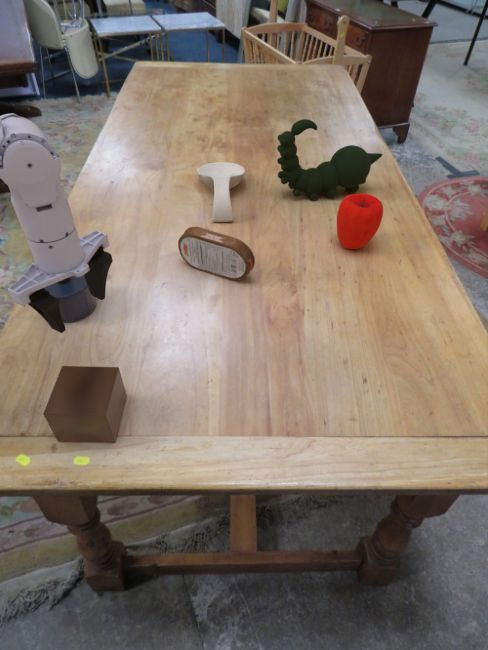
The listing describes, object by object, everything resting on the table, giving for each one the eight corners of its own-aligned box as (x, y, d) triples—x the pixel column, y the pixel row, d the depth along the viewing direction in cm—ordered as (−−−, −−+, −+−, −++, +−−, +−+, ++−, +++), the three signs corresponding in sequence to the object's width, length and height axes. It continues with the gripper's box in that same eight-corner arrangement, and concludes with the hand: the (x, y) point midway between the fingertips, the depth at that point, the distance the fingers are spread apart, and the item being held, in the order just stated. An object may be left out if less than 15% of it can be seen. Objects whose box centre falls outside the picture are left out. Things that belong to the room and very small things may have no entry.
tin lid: (26, 299, 69) (18, 281, 66) (45, 264, 75) (39, 247, 73) (83, 300, 69) (78, 282, 66) (97, 265, 75) (93, 248, 73)
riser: (57, 441, 57) (42, 414, 53) (74, 394, 63) (61, 365, 58) (115, 442, 57) (105, 415, 53) (127, 395, 63) (118, 366, 58)
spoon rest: (197, 174, 112) (196, 146, 107) (243, 173, 113) (244, 146, 108) (197, 223, 95) (195, 193, 90) (250, 223, 96) (251, 193, 91)
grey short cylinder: (39, 322, 73) (28, 298, 69) (55, 289, 79) (46, 265, 75) (89, 323, 73) (82, 299, 69) (101, 290, 79) (95, 267, 75)
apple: (358, 263, 86) (371, 215, 79) (322, 245, 91) (331, 198, 83) (381, 245, 91) (395, 198, 84) (346, 229, 95) (356, 182, 88)
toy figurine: (284, 213, 103) (384, 196, 105) (284, 132, 89) (400, 114, 91) (274, 193, 109) (369, 178, 111) (273, 115, 95) (381, 99, 98)
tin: (254, 278, 82) (256, 240, 76) (247, 288, 80) (249, 250, 74) (185, 257, 87) (182, 220, 81) (177, 265, 85) (173, 228, 79)
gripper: (23, 273, 46) (60, 357, 55) (117, 211, 55) (135, 293, 64) (-21, 252, 48) (22, 336, 58) (76, 196, 57) (99, 277, 67)
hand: (79, 312), depth 61 cm, fingers open, 7 cm apart
